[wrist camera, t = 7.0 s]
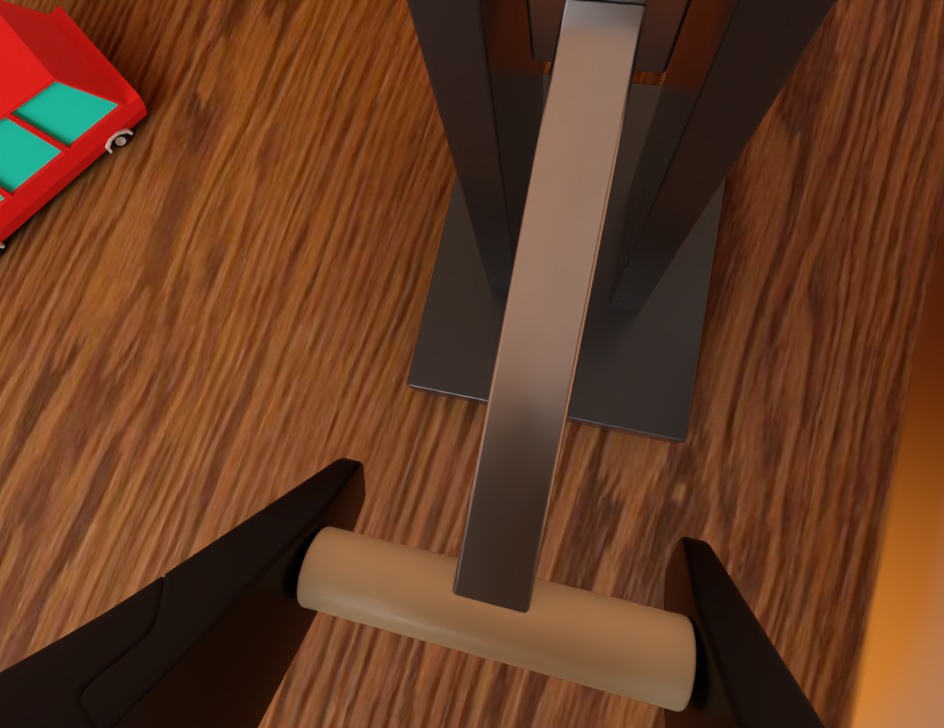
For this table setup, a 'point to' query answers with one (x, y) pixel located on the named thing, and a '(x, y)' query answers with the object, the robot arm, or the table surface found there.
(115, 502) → the table surface
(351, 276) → the table surface
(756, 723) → the robot arm
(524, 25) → the bracket
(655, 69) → the lever
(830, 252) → the table surface
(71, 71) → the toy car
